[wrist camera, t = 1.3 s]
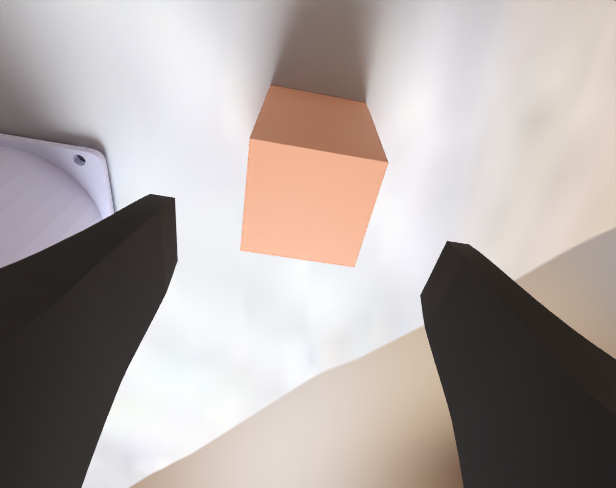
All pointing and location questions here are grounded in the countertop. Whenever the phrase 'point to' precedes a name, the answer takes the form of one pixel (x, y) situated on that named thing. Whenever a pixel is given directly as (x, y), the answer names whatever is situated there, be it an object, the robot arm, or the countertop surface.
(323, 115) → the terracotta block
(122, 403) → the countertop surface
